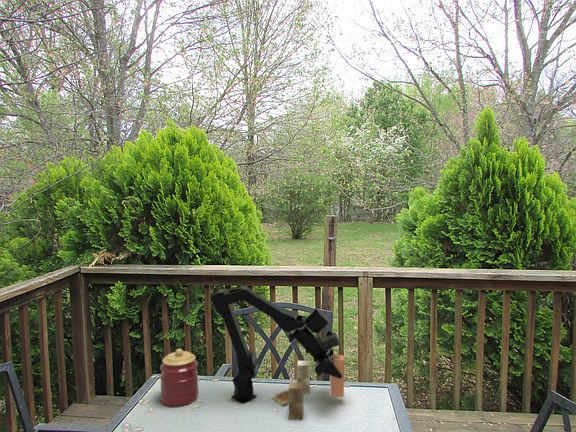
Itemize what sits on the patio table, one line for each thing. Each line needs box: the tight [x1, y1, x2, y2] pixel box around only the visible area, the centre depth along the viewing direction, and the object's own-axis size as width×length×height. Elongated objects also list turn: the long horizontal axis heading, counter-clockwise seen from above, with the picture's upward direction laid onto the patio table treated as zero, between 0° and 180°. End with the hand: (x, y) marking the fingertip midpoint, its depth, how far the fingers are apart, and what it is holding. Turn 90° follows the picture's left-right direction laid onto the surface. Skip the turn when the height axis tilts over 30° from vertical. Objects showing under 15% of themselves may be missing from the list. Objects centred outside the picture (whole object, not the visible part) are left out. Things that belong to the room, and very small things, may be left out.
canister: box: [159, 348, 199, 407], centre depth 138 cm, size 13×13×18 cm
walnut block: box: [288, 381, 305, 421], centre depth 126 cm, size 4×4×10 cm
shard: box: [271, 389, 289, 407], centre depth 138 cm, size 11×8×2 cm
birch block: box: [296, 360, 311, 394], centre depth 144 cm, size 4×4×10 cm
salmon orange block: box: [330, 354, 345, 398], centre depth 135 cm, size 4×4×12 cm
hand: (341, 374), depth 134 cm, fingers closed on salmon orange block, 4 cm apart
